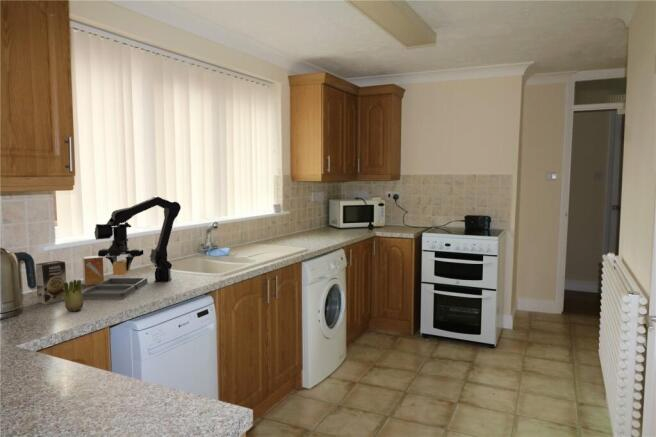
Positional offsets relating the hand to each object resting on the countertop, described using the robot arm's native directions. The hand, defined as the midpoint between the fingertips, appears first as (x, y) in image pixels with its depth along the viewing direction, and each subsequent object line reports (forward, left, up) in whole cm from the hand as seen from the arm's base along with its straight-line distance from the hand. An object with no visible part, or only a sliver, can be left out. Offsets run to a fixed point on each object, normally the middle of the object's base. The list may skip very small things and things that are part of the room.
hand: (121, 270), depth 219 cm
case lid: (0, +15, -7) cm, 17 cm away
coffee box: (+19, +24, -8) cm, 31 cm away
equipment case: (0, 0, -7) cm, 7 cm away
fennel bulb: (+3, +38, -8) cm, 39 cm away
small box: (+16, -6, -8) cm, 19 cm away
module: (0, 0, -1) cm, 1 cm away
